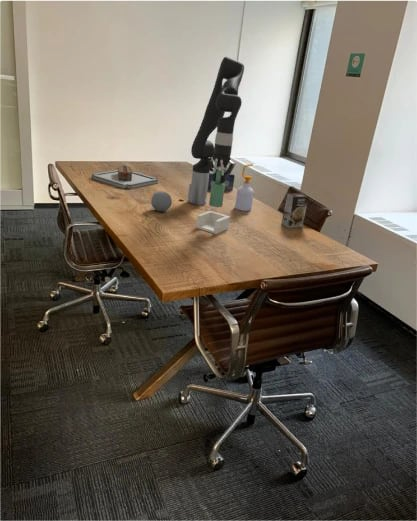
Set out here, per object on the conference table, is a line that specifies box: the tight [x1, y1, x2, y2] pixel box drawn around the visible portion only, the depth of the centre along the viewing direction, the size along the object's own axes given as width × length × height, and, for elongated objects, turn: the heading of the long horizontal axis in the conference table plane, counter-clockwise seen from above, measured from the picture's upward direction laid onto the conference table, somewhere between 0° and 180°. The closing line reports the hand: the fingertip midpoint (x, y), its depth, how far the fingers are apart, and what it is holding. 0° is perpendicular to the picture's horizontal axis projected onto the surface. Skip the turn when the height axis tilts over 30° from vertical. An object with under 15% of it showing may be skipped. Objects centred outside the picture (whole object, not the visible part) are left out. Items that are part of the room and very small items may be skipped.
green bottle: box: [208, 169, 225, 208], centre depth 200 cm, size 6×6×16 cm
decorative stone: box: [150, 190, 173, 213], centre depth 220 cm, size 10×10×10 cm
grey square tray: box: [91, 165, 159, 190], centre depth 267 cm, size 30×30×8 cm
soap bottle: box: [234, 163, 255, 212], centre depth 239 cm, size 9×9×25 cm
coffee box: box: [281, 193, 309, 229], centre depth 223 cm, size 9×6×16 cm
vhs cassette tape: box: [207, 172, 236, 192], centre depth 274 cm, size 18×3×10 cm, turn 108°
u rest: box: [195, 210, 231, 235], centre depth 206 cm, size 11×11×6 cm
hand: (218, 182), depth 199 cm, fingers closed on green bottle, 3 cm apart
